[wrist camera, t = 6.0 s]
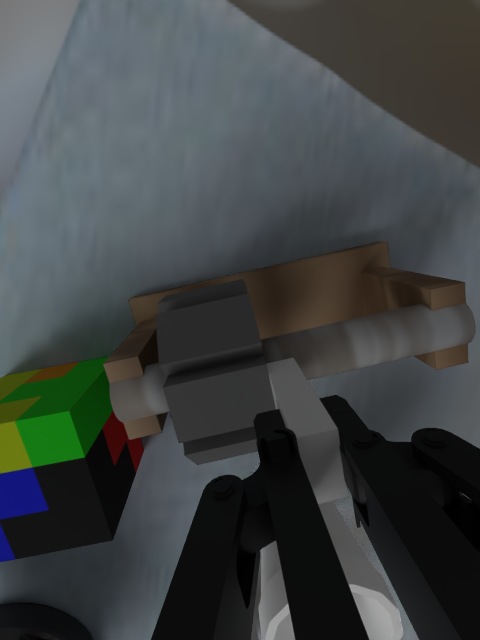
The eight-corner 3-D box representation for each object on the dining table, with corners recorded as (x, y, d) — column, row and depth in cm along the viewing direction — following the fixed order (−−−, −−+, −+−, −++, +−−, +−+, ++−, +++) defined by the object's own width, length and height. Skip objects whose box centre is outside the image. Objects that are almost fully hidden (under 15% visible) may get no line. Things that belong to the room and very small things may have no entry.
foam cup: (258, 447, 33) (282, 577, 21) (346, 460, 34) (420, 591, 22) (239, 525, 35) (251, 685, 23) (322, 535, 36) (377, 693, 24)
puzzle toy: (41, 469, 32) (-34, 568, 23) (6, 375, 30) (-96, 442, 20) (144, 449, 33) (112, 540, 23) (116, 354, 30) (69, 410, 20)
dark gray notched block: (204, 410, 27) (195, 502, 17) (173, 289, 25) (142, 316, 15) (265, 396, 27) (291, 481, 17) (239, 274, 25) (251, 292, 15)
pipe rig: (160, 390, 31) (127, 477, 20) (131, 297, 29) (77, 336, 18) (390, 338, 31) (486, 395, 20) (380, 241, 29) (481, 245, 18)
